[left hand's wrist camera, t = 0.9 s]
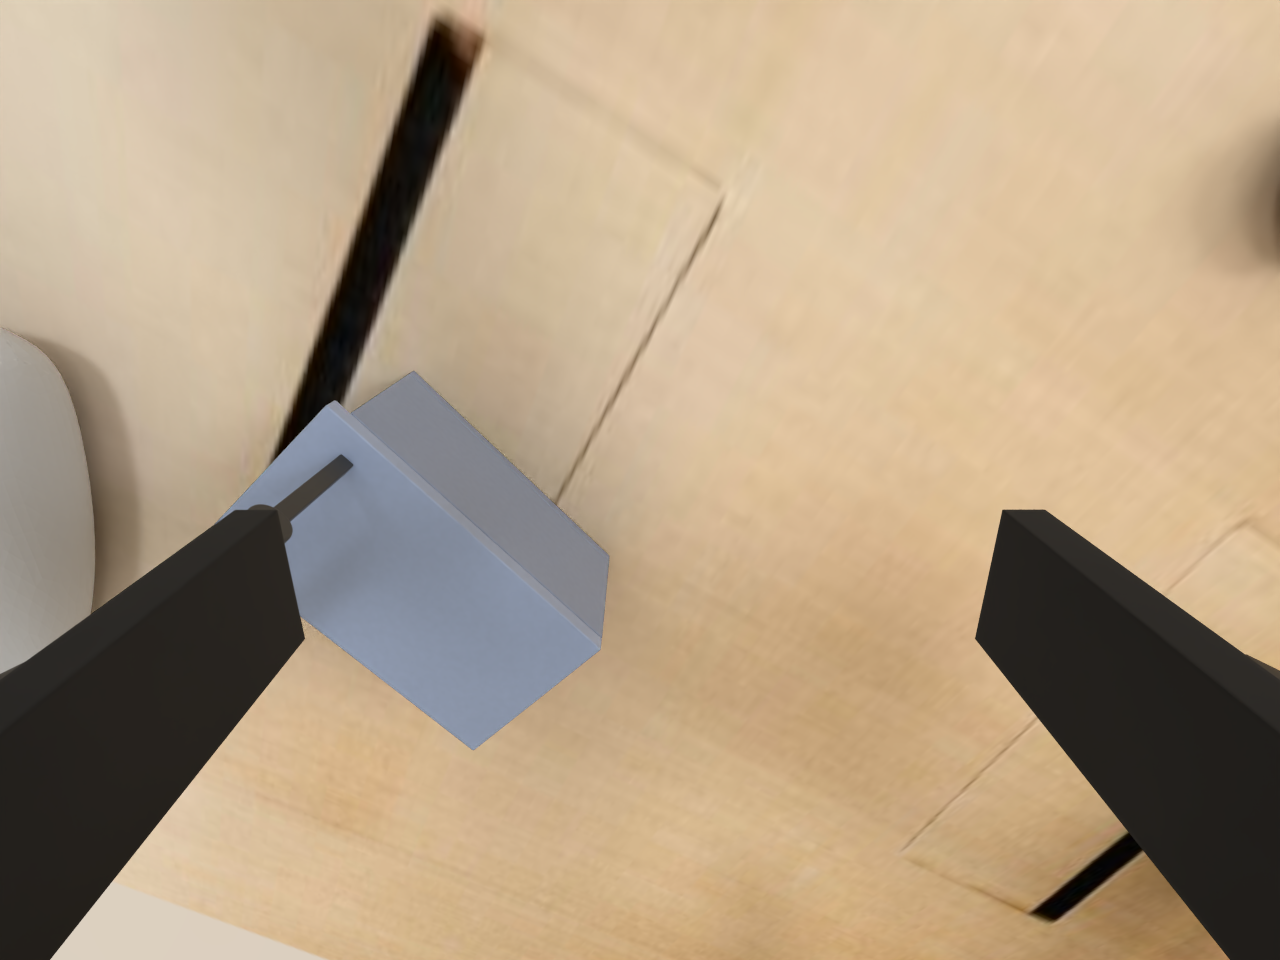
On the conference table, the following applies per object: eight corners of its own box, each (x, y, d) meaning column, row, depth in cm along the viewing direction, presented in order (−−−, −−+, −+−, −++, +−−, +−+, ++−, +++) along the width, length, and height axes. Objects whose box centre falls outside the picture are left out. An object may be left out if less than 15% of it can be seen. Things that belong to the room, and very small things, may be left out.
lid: (212, 530, 31) (69, 634, 23) (335, 399, 29) (223, 466, 21) (477, 738, 35) (431, 884, 28) (602, 638, 33) (590, 767, 25)
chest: (312, 475, 39) (227, 541, 31) (413, 370, 37) (351, 412, 29) (507, 641, 44) (477, 737, 36) (609, 555, 41) (602, 637, 33)
